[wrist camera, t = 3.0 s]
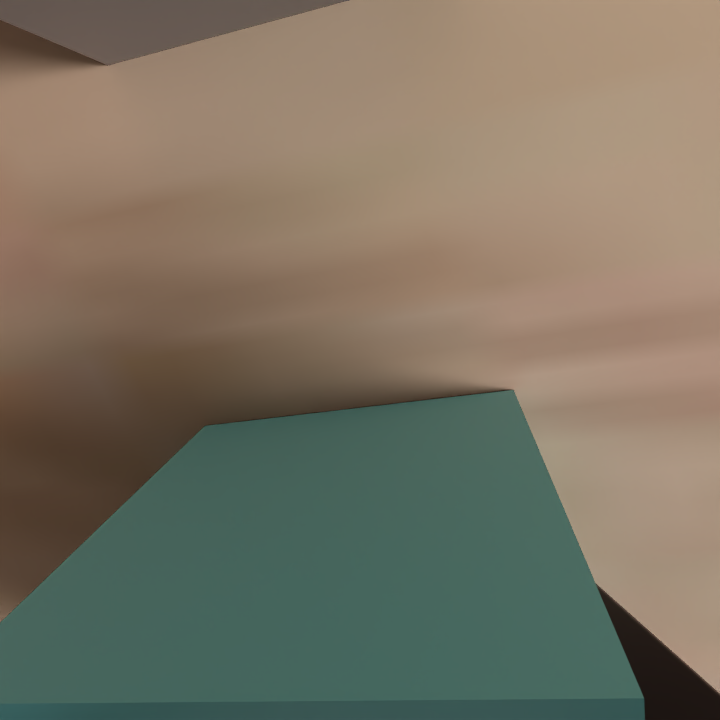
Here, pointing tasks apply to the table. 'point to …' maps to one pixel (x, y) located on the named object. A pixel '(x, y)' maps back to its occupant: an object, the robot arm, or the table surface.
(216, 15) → the gray cube
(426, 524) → the teal cube
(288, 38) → the table surface
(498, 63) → the table surface
